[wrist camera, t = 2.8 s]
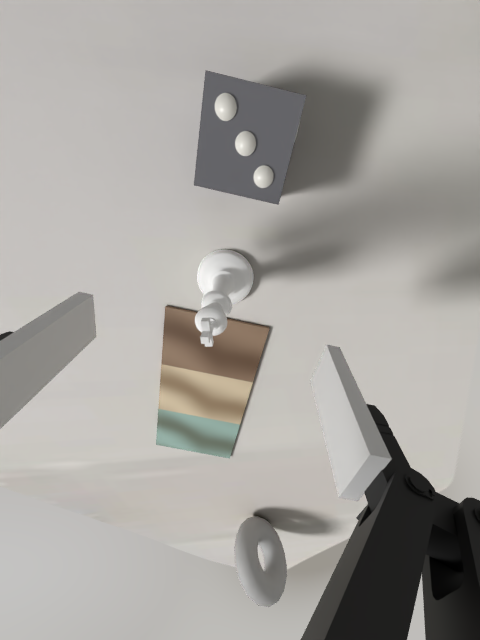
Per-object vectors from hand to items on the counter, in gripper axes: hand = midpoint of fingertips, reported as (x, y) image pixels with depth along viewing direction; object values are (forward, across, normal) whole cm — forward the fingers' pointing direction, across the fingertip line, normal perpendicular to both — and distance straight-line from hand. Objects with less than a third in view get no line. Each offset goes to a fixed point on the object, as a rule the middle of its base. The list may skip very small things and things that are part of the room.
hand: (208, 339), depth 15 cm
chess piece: (+10, 0, 0) cm, 10 cm away
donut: (+10, +13, -40) cm, 43 cm away
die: (+9, 0, +10) cm, 14 cm away
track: (+10, 0, -14) cm, 17 cm away
